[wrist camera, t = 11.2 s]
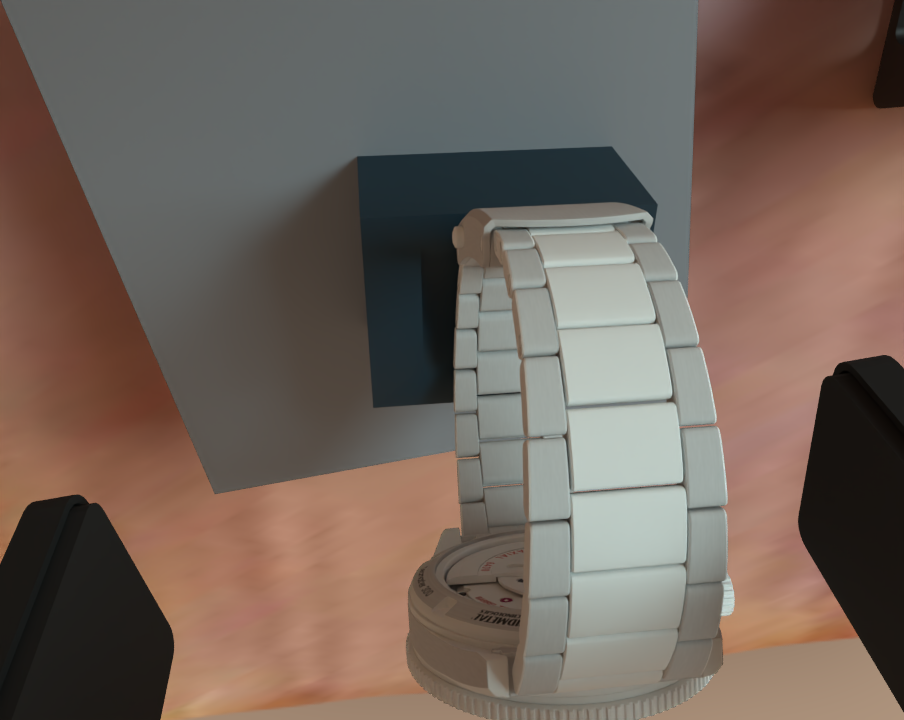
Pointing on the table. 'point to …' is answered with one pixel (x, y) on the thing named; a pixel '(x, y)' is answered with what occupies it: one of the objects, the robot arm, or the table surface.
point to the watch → (550, 432)
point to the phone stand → (892, 63)
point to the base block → (326, 178)
